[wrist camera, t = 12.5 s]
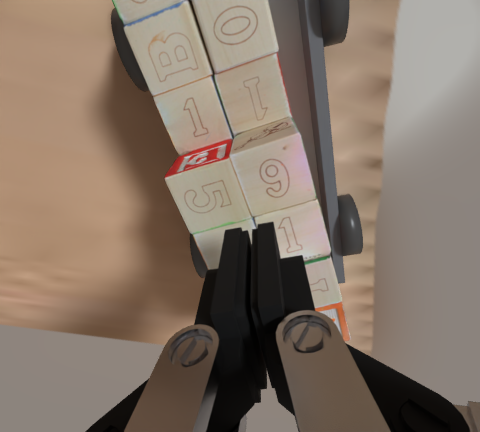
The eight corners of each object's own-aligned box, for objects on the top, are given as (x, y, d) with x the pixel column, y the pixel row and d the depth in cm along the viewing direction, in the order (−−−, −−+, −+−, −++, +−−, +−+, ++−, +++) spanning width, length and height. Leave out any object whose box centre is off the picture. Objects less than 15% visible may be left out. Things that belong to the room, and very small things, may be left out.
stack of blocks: (152, -18, 20) (32, -101, 9) (245, -57, 19) (232, -204, 8) (249, 248, 29) (245, 364, 18) (315, 232, 28) (353, 345, 17)
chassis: (118, -28, 21) (82, -49, 16) (321, -90, 19) (342, -134, 15) (216, 274, 32) (209, 309, 28) (349, 253, 30) (365, 287, 26)
